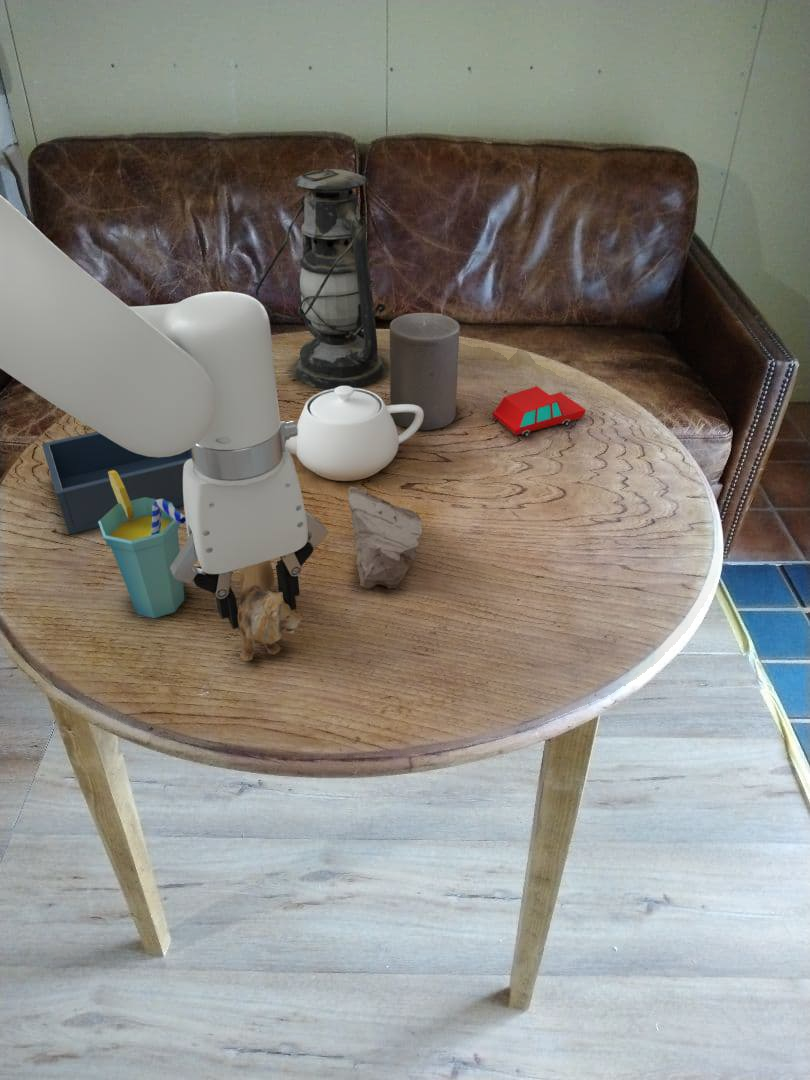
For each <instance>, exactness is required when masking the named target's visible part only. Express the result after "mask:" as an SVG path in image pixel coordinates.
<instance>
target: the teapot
mask: <svg viewBox="0 0 810 1080" xmlns="http://www.w3.org/2000/svg"><path fill="white" fill-rule="evenodd" d="M385 403H386V402H385V401H384V399H382V397H381V396H379V395H378V394H376V393H374V392H373V391H370V390H367V389H363V388H352V387H350V386H339V387H337V388H335V389H330V390H329V389H324V390H322V391H320V392H318V393H316V394H314V395H312V396H311V397H309V399H307V401H306V402H305V403H304V406H303V409H302V411H301V414H300V416H299V418H298V421H297V423H296V426H297V430H298V435H297V436H294V437H290V439H289V440H286V444H285V445H286V447H287V449H288V451H289V452H290V455H296V457H297V459H298V460H299V462H300V463H301V464H302V465H303V466H304V467H305V468H306V469H308V470H309V471H311V472H313V473H315V474H316V475H318V476H320V477H321V478H324V479H327V480H333V481H337V482H338V481H339V482H340V481H341V482H351V481H359V480H362V479H363V480H364V479H367V478H369V477H371V476H373V475H375V474H377V473H379V472H380V471H381V470H383V469H384V468H385V467H387V466H388V465H389V464H390V463H391V462H392V461H393V460H394V458H395V456H396V455H397V453H398V451H399V445H400V444H402V443H404V442H405V441H407V440H408V439H410V438H411V437H412V436H413V435H414V434H415V433H416V432H418V431H419V430H418V429H419V427H420V426H421V424H422V421H423V417H424V414H423V410H422V409H421V407H419V406H417V405H412V404H400V405H391V404H388V405H387V404H385ZM399 412H413V413H415V414H416V415H415V419H414V421H413V423H412V424H411V425H410V427H409V428H406V430H404V431H403V432H401V433H400V434H399V433H398V429H397V424H396V423H395V422H394V421H393V418H392V416H391V414H390V413H399Z"/></svg>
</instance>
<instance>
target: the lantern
mask: <svg viewBox="0 0 810 1080" xmlns="http://www.w3.org/2000/svg"><path fill="white" fill-rule="evenodd" d="M367 180H368V179H367V178H366V176H363V175H361V174H359V173H356V172H353V171H349V170H345V169H334V168H333V169H330V168H329V169H328V168H326V169H318V170H312V171H309V172H304V173H302V174H300V175H299V176H297V177H295V178H294V179H293V180H292V182H293V184H294V185H295V186H297V187H299V188H302V189H305V190H307V191H308V192H307V193H306V194H305V196H300V198H299V203H300V205H299V206H300V207H299V209H298V210H297V212H296V214H295V215H294V217H293V219H292V221H291V223H290V224H289V227H288V229H287V232H286V236H285V239H284V242H283V243H282V245H281V246H280V248H279V250H278V251H277V253H276V255H275V256H274V258H273V260H272V261H271V263H270V264H269V266H268V268H267V270H265V273H264V274H263V276H262V277H261V279H260V281H259V282H258V284H257V287H256V288H255V299H256V300H258V301H259V302H260V303H261V304H262V305H263V306H264V308H265V310H266V311H268V312H269V316H270V317H272V318H273V317H275V316H277V317H279V318H283V319H286V320H289V321H299V320H301V319H303V321H304V324H305V327H306V329H307V330H308V332H309V333H310V335H312V336H313V339H312V340H309V341H308V342H307V343H305V344H303V345H302V347H301V348H300V351H299V357H300V358H299V359H298V361H297V364H296V367H295V370H294V372H295V376H296V378H297V379H298V380H299V381H300V382H301V383H303V384H305V385H307V386H310V387H312V388H316V389H323V390H330V389H335V388H337V387H339V386H350V387H352V388H358V389H360V388H362V387H366V386H368V385H372V384H373V383H375V382H377V381H378V380H379V379H380V378H382V377H383V375H384V373H385V370H386V369H385V365H384V363H383V361H382V358H381V356H380V355H379V348H378V338H377V326H376V317H375V316H376V314H378V312H379V314H381V313H383V312H384V311H385V310H386V305H385V304H383V303H378V304H377V305H376V307H374V298H373V297H374V296H373V287H374V286H375V284H376V282H375V281H374V280H372V278H371V270H370V259H369V250H368V249H369V248H368V240H367V236H366V234H367V231H368V230H367V229H368V226H367V224H366V221H367V220H366V217H365V216H361V213H360V203H359V196H358V195H357V193H356V192H355V191H353V190H354V189H357V188H360V187H361V186H363V185H365V183H367ZM301 212H302V218H301V229H300V232H301V239H302V240H301V242H302V243H301V247H302V248H301V249H302V250H301V252H302V253H301V254H302V257H301V258H300V260H299V266H300V267H301V269H300V275H299V279H297V281H296V282H295V287H296V291H297V292H298V293H299V294H300V299H301V302H300V306H298V316H295V317H291V316H288V315H285V314H282V313H278V312H275V313H273V310H272V309H270V308H269V307H268V306H267V305H265V304H264V303H263V302H262V300H261V299H260V297H259V291H260V288H261V286H262V284H263V282H264V281H265V279H266V277H267V276H268V275H269V273H270V272H271V269H272V268H273V266H274V264H275V263H276V262H277V260H278V258H279V257H280V255H281V254H282V252H283V250H284V248H285V247H286V245H287V243H288V241H289V237H290V234H291V230H292V228H293V225H294V224H295V222H296V220H297V219H298V217H299V215H300V214H301ZM298 284H299V285H298ZM299 288H300V289H299Z"/></svg>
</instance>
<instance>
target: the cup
mask: <svg viewBox="0 0 810 1080" xmlns="http://www.w3.org/2000/svg"><path fill="white" fill-rule="evenodd" d="M108 474H109V479H110V483H111V486H112V488H113V491H114V493H115V496H116V499H117V501H118V503H119V504H117V505H115V506H114V507H113V508H112V509H111V510H110V511H109V512H108V513H107V514H106V515H105V516H104V517H103V518H102V519H100V520H99V521H98V523H99V526H100V527H99V529H100V531H101V533H102V537H103V539H104V541H105V544H106V545H107V546H108V547H110V549H111V551H112V554H113V556H114V559H115V561H116V564H117V566H118V569H119V572H120V574H121V577H122V579H123V582H124V585H125V587H126V590H127V592H128V594H129V597H130V599H131V602H132V604H133V607H134V609H135V612H136V614H137V615H139V616H144V617H147V618H151V619H157V618H160V617H163V616H167V615H170V614H173V613H175V612H176V611H177V610H178V609H179V607H180V606H181V605H182V604H183V602H184V601H185V600H186V599H185V589H184V582H183V581H179V580H176V579H174V577H173V575H172V573H171V570H170V567H171V565H172V563H173V562H174V560H175V558H176V557H177V555H178V554H179V552H180V550H181V549H180V539H179V528H180V526H181V525H183V524H184V523H186V519H185V514H183V513H182V512H181V511H179V510H178V509H177V508H176V507H175V508H174V506H173V504H172V503H171V502H168V501H166V500H164V499H158V500H157V499H152V498H147V497H144V498H140V499H136V500H132V501H130V499H129V497H128V494H127V492H126V489H125V487H124V485H123V483H122V481H121V479H120V477H119V475H118V473H117V472H116V471H115V470H112V471H109V472H108Z"/></svg>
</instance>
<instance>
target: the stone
mask: <svg viewBox="0 0 810 1080" xmlns="http://www.w3.org/2000/svg"><path fill="white" fill-rule="evenodd" d="M347 494H348V496H347V498H348V502H349V503H348V504H349V505H348V506H349V509H350V511H351V515H350V518H351V521H352V526H353V530H354V531H353V533H354V540H355V553H356V555H357V556H356V560H355V561H356V566H357V571H358V577H359V581H360V586H361V587H362V588H364V589H372V588H374V587H375V586H377V585H381V586H384V587H386V588H387V589H396V588H397V586H398V585H399V584H400V582H401V581H402V580H403V579H404V578H405V576H406V573H407V572H408V571H409V569H410V565H411V563H412V561H414V559H415V558H416V555H417V550H418V548H419V543H420V542H419V539H420V537H421V535H422V533H423V520H422V518H421V517H420V516H419V514H417V513H416V512H415V511H414V510H412V509H409V508H406V507H405V508H404V507H400V506H397V505H394V504H391V502H389V501H387V500H385V499H384V498H381V497H378V496H376V495H374V494H372V493H370V492H368V490H365V489H361V488H358V487H356V486H353V485H349V488H348V491H347Z"/></svg>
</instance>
